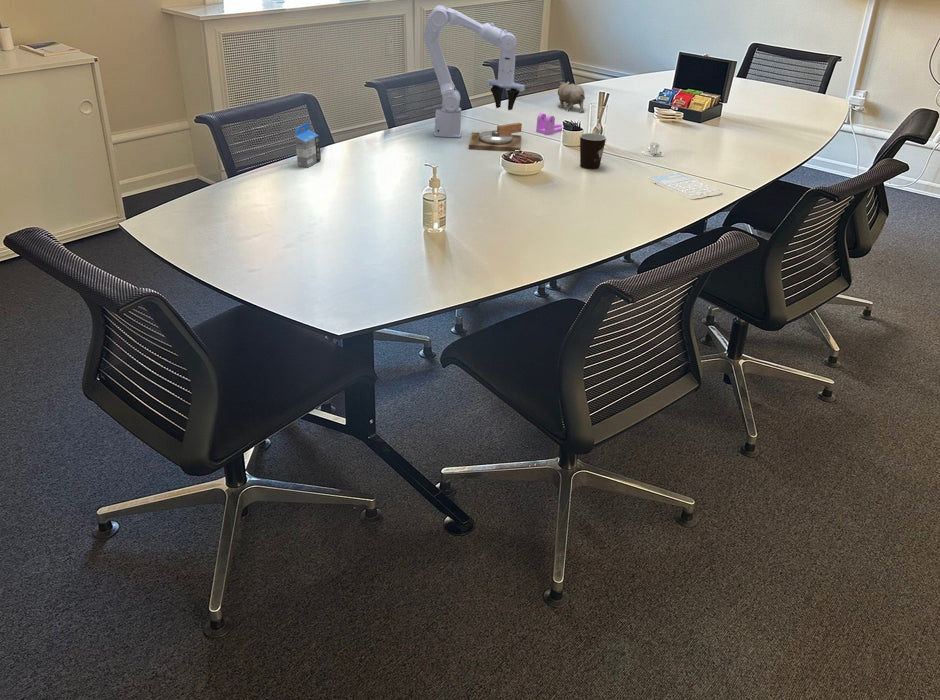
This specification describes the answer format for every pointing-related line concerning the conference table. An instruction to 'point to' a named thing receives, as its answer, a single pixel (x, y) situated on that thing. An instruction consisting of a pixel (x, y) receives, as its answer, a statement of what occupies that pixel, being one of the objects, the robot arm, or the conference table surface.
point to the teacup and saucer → (653, 148)
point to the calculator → (684, 184)
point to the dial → (500, 134)
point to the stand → (480, 145)
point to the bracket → (547, 125)
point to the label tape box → (307, 146)
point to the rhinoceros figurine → (571, 95)
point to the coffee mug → (591, 150)
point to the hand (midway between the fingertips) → (504, 108)
